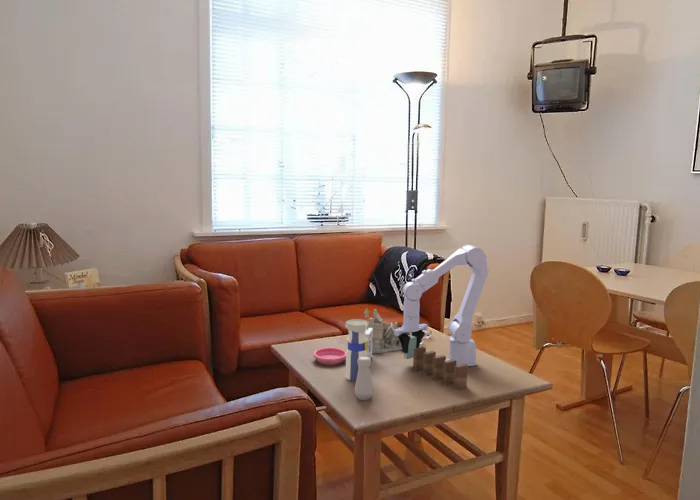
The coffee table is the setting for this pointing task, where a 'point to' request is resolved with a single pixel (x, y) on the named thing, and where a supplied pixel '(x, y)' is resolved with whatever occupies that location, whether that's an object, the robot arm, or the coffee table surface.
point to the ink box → (369, 341)
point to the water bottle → (356, 345)
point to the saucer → (330, 356)
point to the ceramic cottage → (383, 335)
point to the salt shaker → (363, 379)
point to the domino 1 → (411, 348)
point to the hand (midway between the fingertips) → (410, 351)
